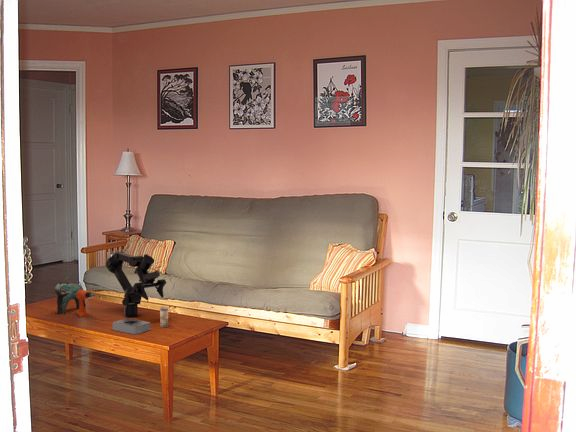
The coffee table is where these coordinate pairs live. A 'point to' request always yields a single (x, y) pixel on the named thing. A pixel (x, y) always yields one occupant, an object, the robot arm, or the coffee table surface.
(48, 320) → the coffee table surface
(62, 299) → the green power drill
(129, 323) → the socket block
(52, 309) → the coffee table surface
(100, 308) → the coffee table surface
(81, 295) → the toy drill
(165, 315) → the pin
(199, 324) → the coffee table surface
